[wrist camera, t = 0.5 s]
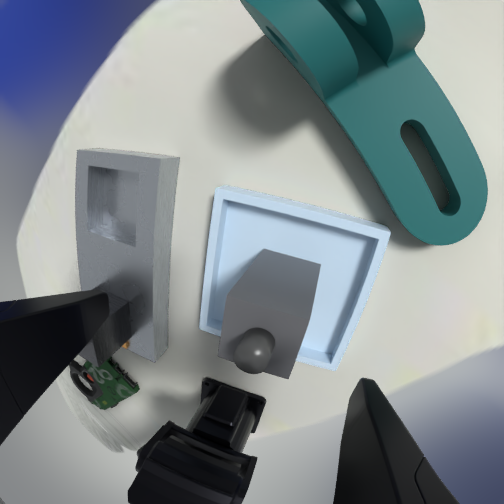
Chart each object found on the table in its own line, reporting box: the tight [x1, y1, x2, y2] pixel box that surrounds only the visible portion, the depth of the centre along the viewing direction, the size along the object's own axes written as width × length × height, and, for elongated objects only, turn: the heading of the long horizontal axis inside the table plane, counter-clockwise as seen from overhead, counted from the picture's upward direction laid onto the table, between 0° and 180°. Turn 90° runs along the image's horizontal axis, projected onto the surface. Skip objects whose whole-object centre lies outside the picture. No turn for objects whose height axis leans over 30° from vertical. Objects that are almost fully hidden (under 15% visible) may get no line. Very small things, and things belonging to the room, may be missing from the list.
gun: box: [69, 357, 139, 410], centre depth 34 cm, size 16×2×10 cm
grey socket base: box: [75, 148, 180, 367], centre depth 20 cm, size 18×9×9 cm, turn 169°
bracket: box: [240, 0, 488, 245], centre depth 11 cm, size 18×7×8 cm, turn 35°
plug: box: [218, 249, 321, 379], centre depth 16 cm, size 4×4×9 cm
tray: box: [199, 185, 391, 371], centre depth 20 cm, size 11×11×2 cm
